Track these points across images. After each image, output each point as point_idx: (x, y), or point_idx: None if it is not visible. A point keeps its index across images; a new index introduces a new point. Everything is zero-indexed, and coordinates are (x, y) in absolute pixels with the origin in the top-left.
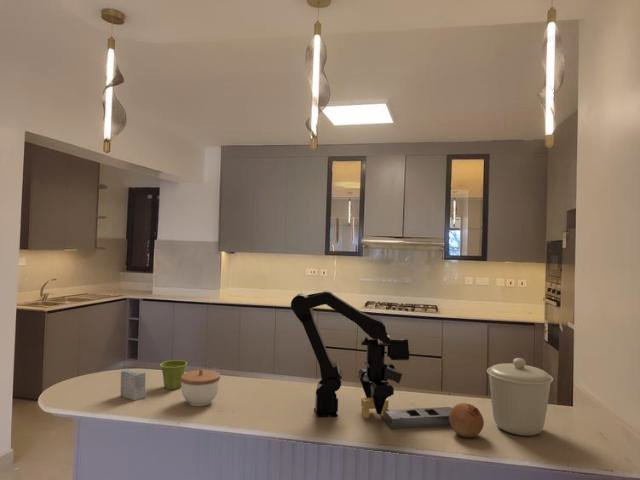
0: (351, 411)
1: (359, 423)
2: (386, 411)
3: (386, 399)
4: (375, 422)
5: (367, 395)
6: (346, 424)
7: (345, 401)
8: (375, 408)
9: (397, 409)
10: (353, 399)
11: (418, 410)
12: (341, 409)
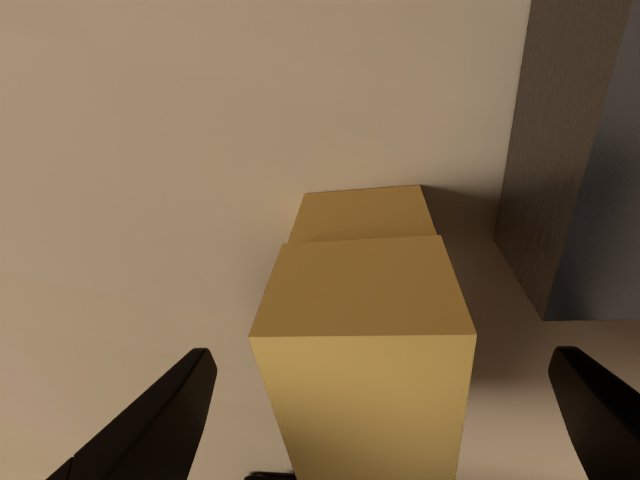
0: None
1: (514, 417)
2: (619, 308)
3: (409, 354)
4: (536, 324)
5: (180, 476)
6: (505, 470)
7: (91, 404)
8: (591, 461)
9: (621, 93)
10: (23, 359)
11: None
12: (247, 445)
